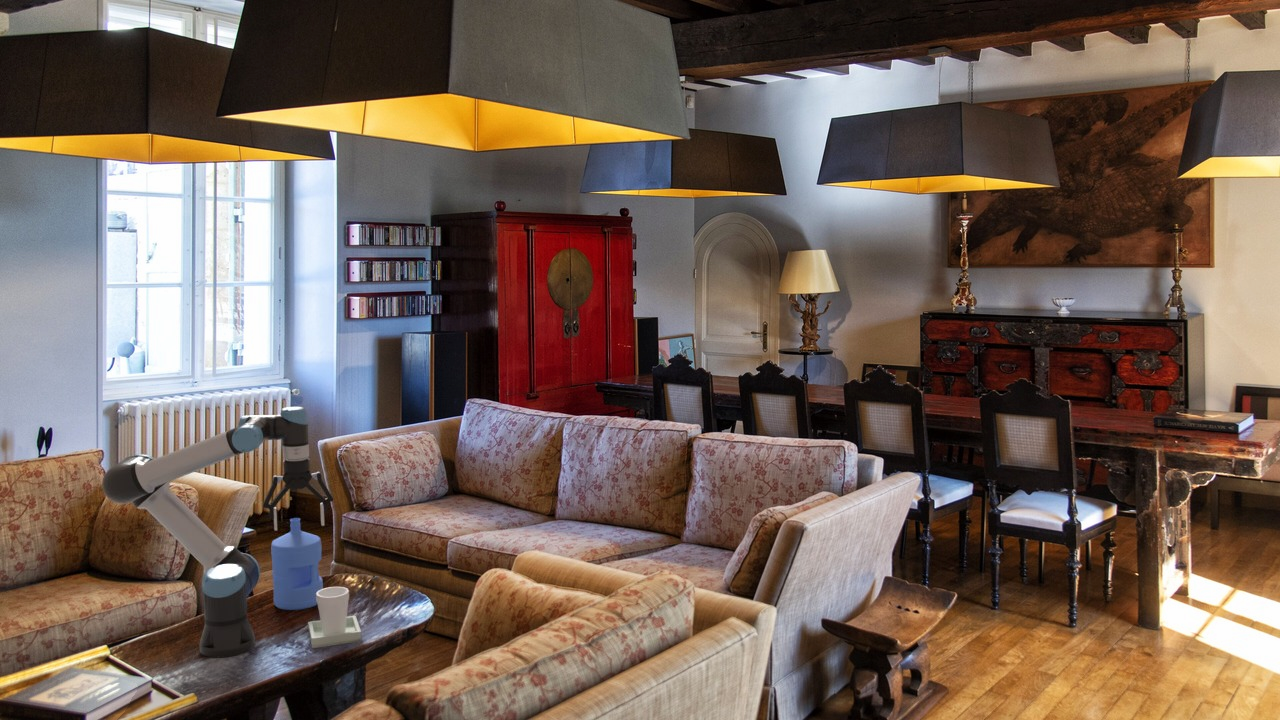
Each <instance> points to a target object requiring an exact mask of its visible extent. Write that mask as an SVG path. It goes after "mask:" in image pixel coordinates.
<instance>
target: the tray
mask: <svg viewBox="0 0 1280 720" xmlns="http://www.w3.org/2000/svg"><path fill="white" fill-rule="evenodd" d="M307 624H308V626H307V627H308V635H309V639H310V643H311V649H318V648H324V647H330V646H338V645H346V644H351V643H358V642H362V631H361V627H360V625H359V620H358V619H357V616H356V615H347V620H346V631H345V633H339V634H332V635H325V636H324V635H323V630H322V625H321V619H319V620H312V621H308V622H307Z"/></svg>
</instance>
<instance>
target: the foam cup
mask: <svg viewBox="0 0 1280 720" xmlns="http://www.w3.org/2000/svg"><path fill="white" fill-rule="evenodd" d="M349 600H350V590H349V588H347V587H344V586H330V587H325V588H324V587H323V589H321V590H319V591H318V592H317V593H316V601H317V603H318V605H317V608H318V613H319V620H321V625H322V630H323V635H324V636H325V635H332V634H339V633H345V631H346V620H347V617H348V610H349V609H348V608H349Z"/></svg>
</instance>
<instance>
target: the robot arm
mask: <svg viewBox="0 0 1280 720" xmlns="http://www.w3.org/2000/svg"><path fill="white" fill-rule="evenodd" d="M275 440H277V441H278V440H279V441H281V442H282V458H283V475H276V474H274V475H273V476H272V483H271V485H270V487H269V489H268V492H266V493H267V494H266V495H265V498H264V499H263V503H262V507H263V508H264V509H265V508H266V509H268V510H269V512H268V513H269V518H270V520H273V525H274V527H273V530H274V531H278V519H277V518H278V516H277V515H278V513H277V507H276V506H277V504H278V503H279V502H280V501H281V500H282V498H283V497H284V496H285V495H286V493H287V492H288V491H290V490H294V491H296V490H297V489H299V490H303V489H305V488H307V489H308V491H310V492H311V493H312V495H314V496H315V497H316V498H317V499H318V500H319V501H320V504H319V507H320V524H321V526H322V527H324V526H325V515H328V510H329V509H328V504H329V503H330V502H333V501H334V497H333V496H332V494H331V493H330V491H329V488H328V487H327V486H326V484H325V482H324V480H323V479H322V474H321V472H320V471H318V470H317V471H316V472H314V473H311V466H310V458H309V456H310V446H309V421H308V412H307V409H306V408H305V407H303V406H286V407H282V408H281V409H280V414H259V415H258V414H257V415H256V414H249V415H243V416H241V417H240V418H239V421H238V425H237V426H236V427H234V428H231V429H229V430H227V431H224V432H221V433H219V434H217V435H213V436H212V437H208V438H206V439H203V440H201V441H198V442H196V443H193V444H190V445H188V446H185V447H182V448H180V449H176V450H174V451H172V452H169V453H166V454H164V455H162V456H159V457H156V458H155V457H153V456H152V455H149V454H142V453H139V454H134V455H130V456H128V457H125V458H124V459H122V460H121V461H119V462H118V463H117V464H115V465H114V466H112V467H110V468H109V469H108V470H106V472H105V474H104V475H103V477H102V484H101V487H102V491H103V494H104V495H105V497H106V498H108V499H109V500H110V501H112V502H114V503H117V504H130V503H132V505H133V506H134V507H135V508H136V509H139V510H141V509H142V510H146V511H147V512H148V513H149V514H150V515H152V517H153V518H154V519H155V520H156V521H157V522H158V523H160V525H162V526H163V527H164V528H165V530H166V531H167V532H168V533H170V534H171V536H172V537H173V538H175V539H176V541H178V543H180V544H181V545H182V547H184V548H185V549H186V550H187V551H188V553H190V555H192V557H194V558H195V559H196V560H197V561H198V562H199V563H200V564H201V565H202V566H203V575H202V580H201V581H202V582H201V590H202V601H203V602H202V603H203V617H204V627H203V629H202V630H203V631H202V633H201V637H200V639H199V640H200V641H199V652H200V654H201V655H203V656H205V657H209V658H227V657H234V656H237V655H240V654H241V655H242V654H243V653H246V652H247V651H248V652H249V651H250V650H252V648H254V647H255V645H256V638H255V633H254V631H253V629H252V626H251V624H250V622H249V620H248V607H247V606H248V604H247V602H248V601H247V598H248V597H249V595H250V593H251V592H252V591H253V590H254V589H255V588H256V586H257V584H258V582H259V579H260V576H261V568H260V565H259V563H258V561H257V560H256V558H255V557H254V556H252V555H251V554H249V553H243V552H241V551H240V550H239V549H238V548H237V547H236V546H234V545H227V544H225V542H223V541H222V540H221V539H220V538H219V537H218V535H217V534H216V533H214V532H213V531H212V530H211V528H209V526H207V525H206V524H205V523H204V521H202V520H201V519H200V517H199V516H197V514H195V513H194V512H193V511H192V510H191V509H190V508H189V507H188V505H186V503H185V502H183V501H182V500H181V499H180V498H179V497H178V495H177V494H175V493H174V492H173V491H172V490H171V488H170V487H171V485H170V484H171V483H170V482H173V481H174V480H177V479H180V478H182V477H185V476H187V475H190V474H192V473H195V472H198V471H200V470H202V469H205V468H207V467H210V466H212V465H216V464H217V463H220V462H222V461H223V462H224V461H225V460H228V459H231V458H233V457H236V456H237V455H238V456H239V455H242V454H244V453H250V452H253V451H255V450H257V449H258V448H259V447H260V446H261V445H262V444H263V443H265V441H275ZM312 478H313V480H315V481H317V482H318V484H319V486H320V487H321V489H322V491H323V492H324V494H325V495H326V497H325V496H324V495H322V493H320V491H318V490H317V489H316V488H315V487H314V486H313V484H312V483H311V482H310V481H311V480H312ZM281 481H283V482H284V485H283V487H282V488H281V490H279V492H278V493H277V495H276V496H275V497H274V498H273V499H272V497H273V496H274V492H275V491H276V489H277V487H278V486H277V485H278V484H280V483H281ZM271 499H272V500H271ZM270 501H271V502H270Z"/></svg>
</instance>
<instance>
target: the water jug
mask: <svg viewBox="0 0 1280 720" xmlns="http://www.w3.org/2000/svg"><path fill="white" fill-rule="evenodd" d="M289 521H290V526H289V527H290V531H289V532H288V533H285V534H284V535H281V536H278V537H277V538H275V539H273V540H272V542H271V548H270V551H271V555H270V556H271V562H272V563H271V564H272V566H271V567H272V575H271V576H272V582H273V583H272V586H273V604H274V606H275V607H277V608H278V609H280V610H286V611H299V610H305V609H306V610H307V609H309V608H313V607H315V606H318V603H317V601H316V593H317V592H318V591H319V590H321V589H324V584H323V582H324V581H323V578H322V577H321V576H320V574H319V562H321V560H322V556H323V555H322V540H321V537H320V536H318V535H315V534H312V533H309V532H306V531H303V530H301V518H299V517H294V518H290V519H289Z"/></svg>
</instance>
